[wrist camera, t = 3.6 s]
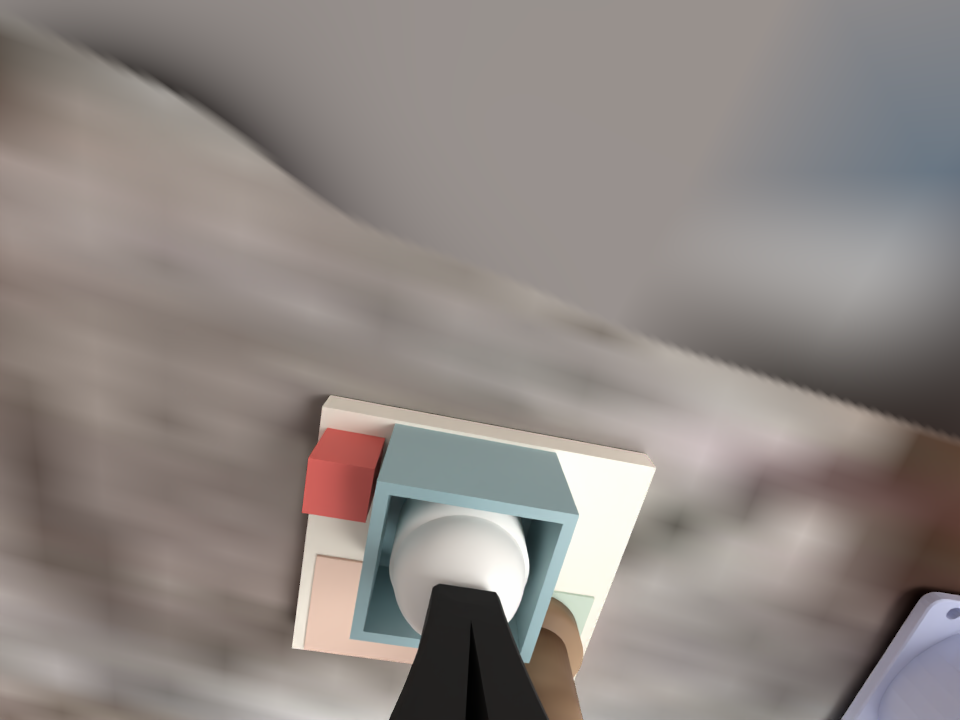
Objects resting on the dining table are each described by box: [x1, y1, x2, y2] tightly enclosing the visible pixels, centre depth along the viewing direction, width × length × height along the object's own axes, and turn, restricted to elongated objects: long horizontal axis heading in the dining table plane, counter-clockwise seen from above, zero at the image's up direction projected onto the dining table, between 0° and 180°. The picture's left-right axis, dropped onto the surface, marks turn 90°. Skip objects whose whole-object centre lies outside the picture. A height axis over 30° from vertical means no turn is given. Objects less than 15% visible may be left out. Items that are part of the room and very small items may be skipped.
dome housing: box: [349, 423, 579, 663], centre depth 12 cm, size 5×5×3 cm
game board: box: [292, 395, 656, 680], centre depth 14 cm, size 10×9×2 cm
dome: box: [389, 498, 529, 635], centre depth 11 cm, size 3×3×3 cm
